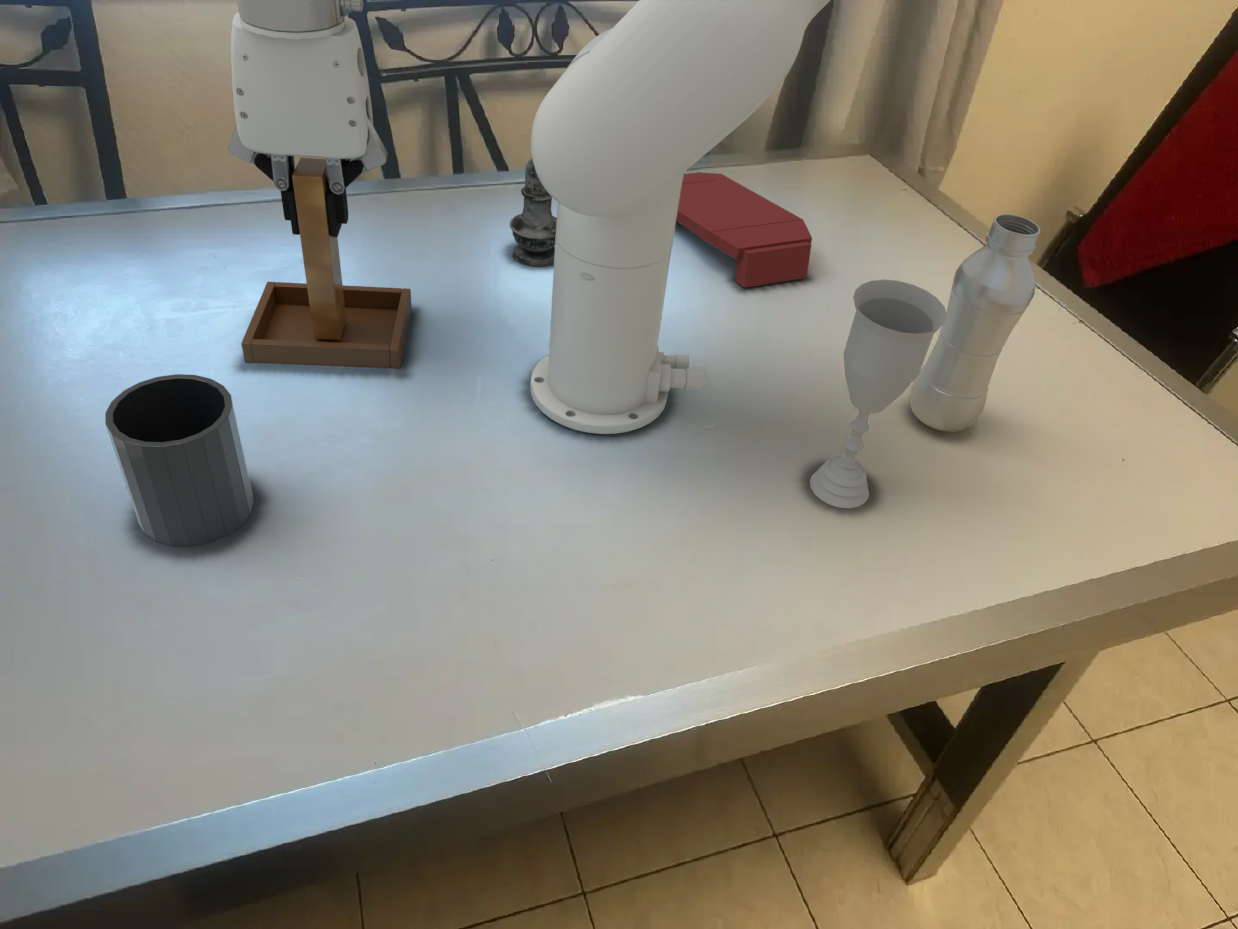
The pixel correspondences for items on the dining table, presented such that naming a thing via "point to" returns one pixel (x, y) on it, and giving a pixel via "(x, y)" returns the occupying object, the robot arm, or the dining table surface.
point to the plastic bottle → (977, 326)
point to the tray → (364, 341)
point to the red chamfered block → (745, 228)
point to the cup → (181, 458)
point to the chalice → (878, 372)
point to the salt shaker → (534, 223)
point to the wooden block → (319, 250)
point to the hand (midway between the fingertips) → (318, 226)
